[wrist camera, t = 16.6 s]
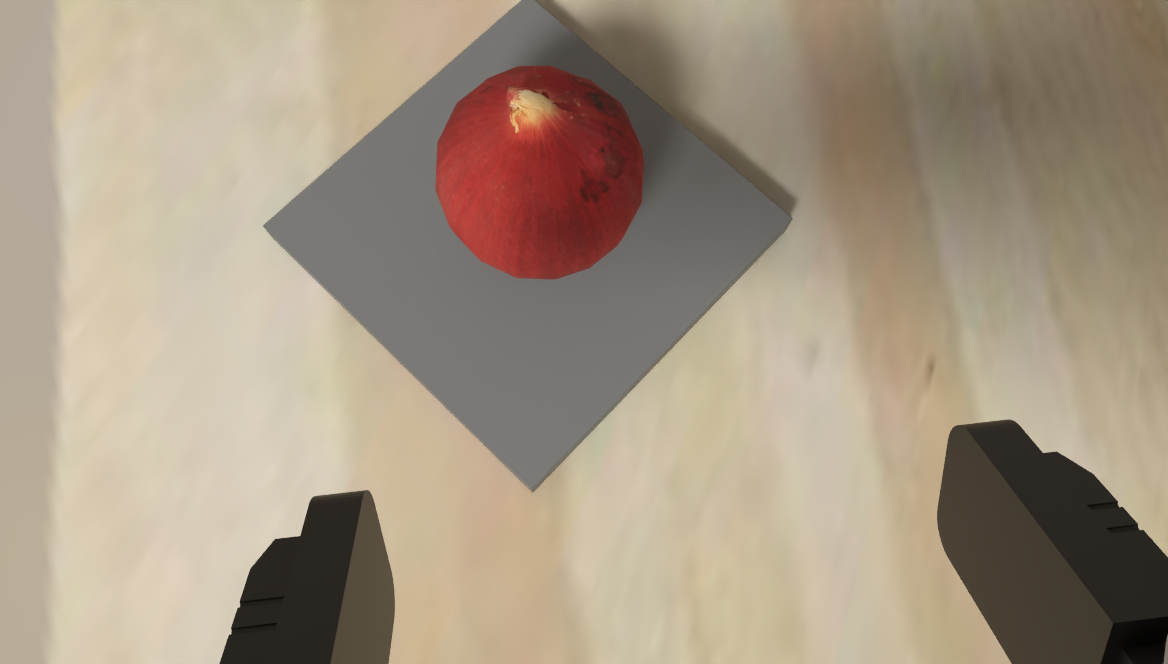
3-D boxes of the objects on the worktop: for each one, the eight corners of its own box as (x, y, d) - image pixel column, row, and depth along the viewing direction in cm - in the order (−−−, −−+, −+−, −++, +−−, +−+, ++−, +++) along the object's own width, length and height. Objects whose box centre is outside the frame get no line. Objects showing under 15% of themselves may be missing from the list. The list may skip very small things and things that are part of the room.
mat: (529, 12, 33) (527, -6, 32) (785, 230, 30) (792, 218, 30) (272, 237, 30) (262, 225, 29) (532, 492, 28) (531, 488, 27)
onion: (592, 120, 30) (605, -40, 23) (661, 273, 29) (699, 158, 21) (426, 178, 30) (381, 33, 22) (488, 338, 28) (463, 243, 21)
